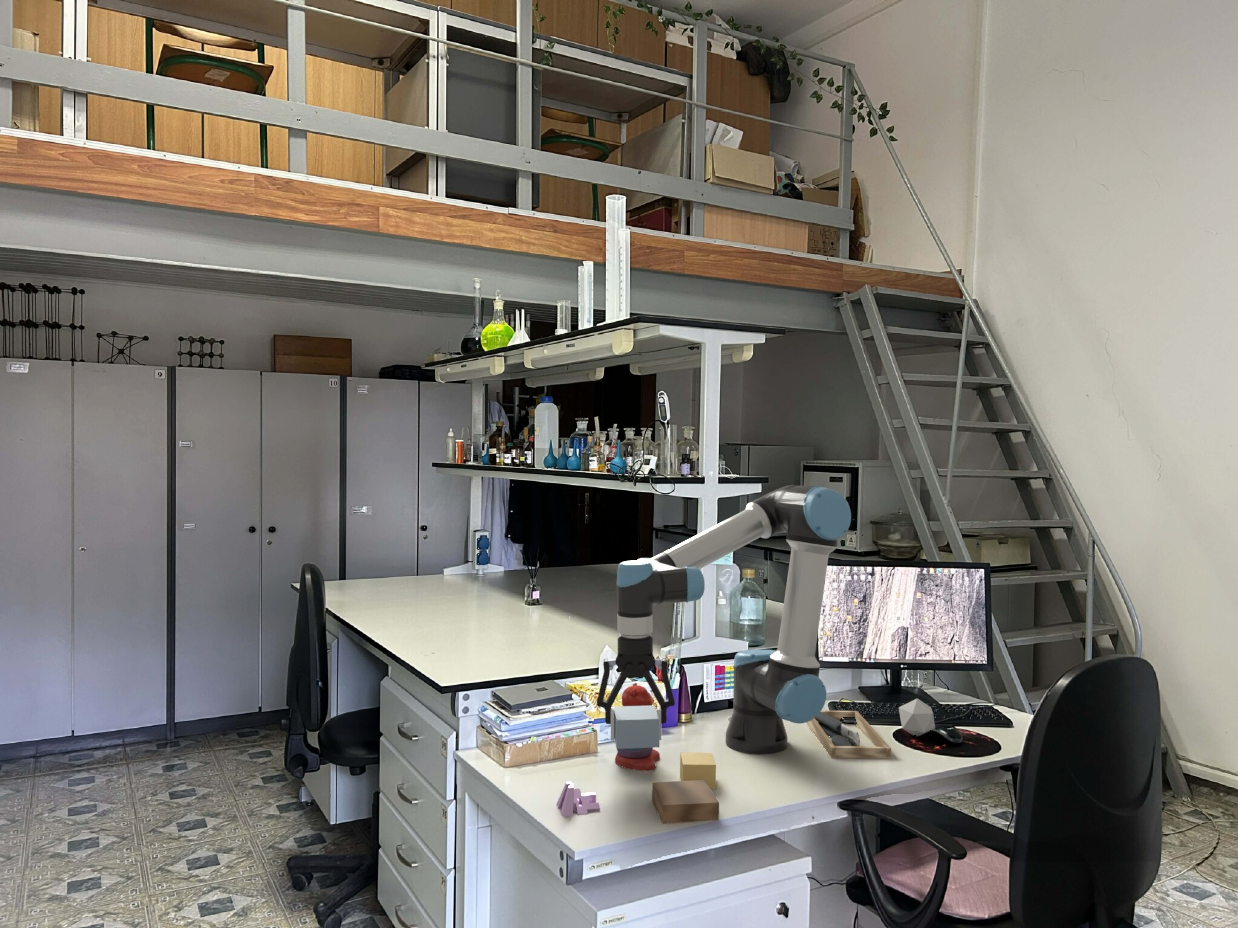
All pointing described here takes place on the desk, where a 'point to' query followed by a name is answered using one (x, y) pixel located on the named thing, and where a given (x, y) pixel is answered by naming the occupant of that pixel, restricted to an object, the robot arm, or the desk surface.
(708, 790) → the walnut base block
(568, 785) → the letters
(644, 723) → the blue-grey block
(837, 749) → the wagon tray frame
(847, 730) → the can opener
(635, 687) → the stacking bear
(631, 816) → the desk surface
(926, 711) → the die
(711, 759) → the ochre block
